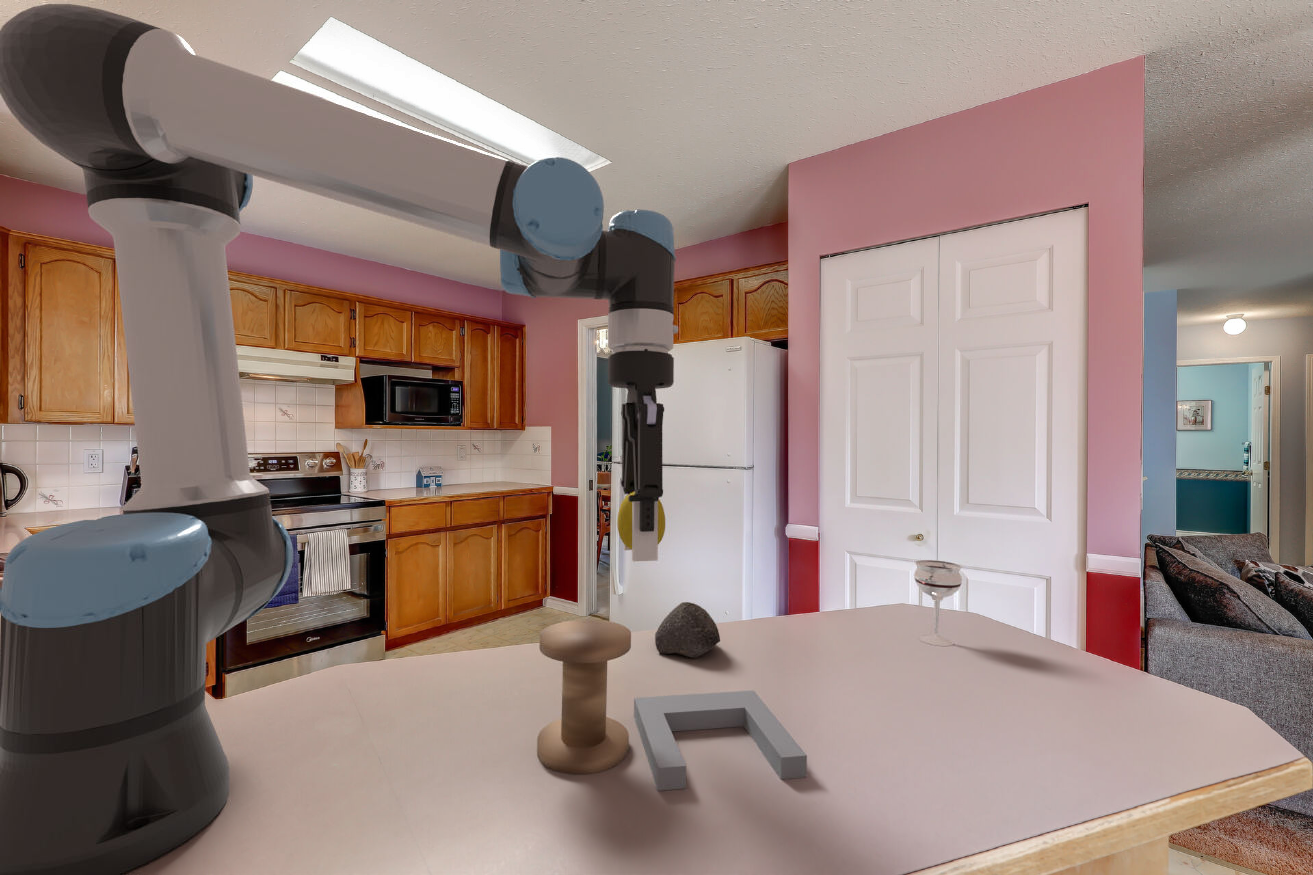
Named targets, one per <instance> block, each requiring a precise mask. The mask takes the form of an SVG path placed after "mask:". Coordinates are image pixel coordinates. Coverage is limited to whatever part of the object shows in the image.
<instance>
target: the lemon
mask: <svg viewBox="0 0 1313 875" xmlns="http://www.w3.org/2000/svg"><path fill="white" fill-rule="evenodd" d="M634 494H635V491H634V492H632V493H630V494H629V495H628V494H627V495H628V496H627V497H626V498H625V499H624V498H623V500H622V502H621V503H620V505H619V510H618V512H617V524H616V525H617V531H618V532H617V533H618V535H619V538H620V540H621V542H622V543H623V545H624V544H625V545H626V546H627V547H628V548H629V549H631V550H630V551H632V504H633V502H629V500H628V497H629V496H630V495H634ZM665 514H666V513H665V509H664V506H663V504H662V502H661V499H659V500H658V545H659V544H660V543H661V541H662V540H663V538H664V535H665V532H666V515H665Z"/></svg>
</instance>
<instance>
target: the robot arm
mask: <svg viewBox="0 0 1313 875" xmlns="http://www.w3.org/2000/svg"><path fill="white" fill-rule="evenodd" d="M0 96H1V98H2V99H3V102H4V103H5V105H6V107H7V108H8V110H9V111H10V113H11V114H12V116H13V117H14V118H15V119H16V120H17V122H19V124H21V126H22V127H23V128H24V129H25V130H26V131H27V132H28V133H30V134H31V135H32V136H33V137H34V138H35V139H37V140H38V141H39V142H40V143H41V144H43V145H44V146H46V147H47V148H49V149H50V150H52V151H54V152H56V153H57V154H59V155H60V156H61V157H63V158H64V159H66V160H67V161H70V162H71V163H73V164H74V165H76V166H77V167H79V168H80V169H82V172H83V177H84V178H83V179H84V186H85V187H84V188H85V196H86V202H87V208H88V209H87V213H88V215H89V218H90V219H91V220H92V221H93V222H95V223H96V224H97V225H98V226H100V227H101V228H103V229H104V230H105V231H107V232H108V233H109V234H110V235H111V237H112V238H113V239H112V241H113V246H114V247H113V248H114V254H115V255H114V256H115V264H116V273H117V282H118V283H117V284H118V291H119V292H118V293H119V299H120V307H121V316H122V326H123V334H124V340H125V341H124V342H125V350H126V359H127V367H128V377H129V386H130V393H131V394H130V395H131V404H132V412H133V414H132V415H133V419H134V420H133V421H134V422H133V423H134V431H135V438H136V449H137V456H138V457H137V458H138V465H139V473H140V474H139V475H140V482H141V485H140V489H139V490H138V491H137V492H136V493H135V494H134V495H132V496H131V497H130V498H129V499H128V500H127V501H126V503H125V504H123V505H122V514H114V515H107V516H102V517H101V518H97V519H83V520H77V521H73V522H68V523H63V524H61V525H56V526H53V527H50V528H47V529H44V530H40V531H39V532H35V533H34V534H32V535H29V536H27V537H26V538H24V539H21V541H20V542H18V543H17V544H16V545H14V546H13V547H12V549H11V550H10V551H9V553H8V554H7V556H6V558H5V560H4V566H3V567H4V568H3V575H2V585H1V588H0V875H121V874H124V873H126V872H129V871H131V870H134V869H136V868H138V867H140V866H143V865H145V864H147V863H148V862H151V861H153V860H155V859H157V858H159V857H161V856H162V855H163V854H166V853H168V852H170V851H172V849H175V848H176V847H178V846H180V845H181V844H182V843H184V842H186V841H188V840H189V839H190V838H192V837H194V836H195V835H196V834H197V833H199V831H201V830H203V829H204V828H205V827H206V826H207V825H208V824H210V823H211V821H212V820H213V819H215V817H216V816H218V814H219V813H220V812H221V810H222V809H223V807H224V806H225V804H226V802H227V801H228V797H229V794H230V765H229V760H228V758H227V755H226V753H225V751H224V748H223V745H222V743H221V739H220V738H219V735H218V733H217V731H216V729H215V727H214V724H213V721H212V719H211V717H210V715H209V712H208V710H207V706H206V678H207V677H206V671H207V670H206V669H207V668H206V667H207V666H206V665H207V664H206V663H207V644H208V643H210V642H212V641H213V640H215V639H216V638H219V636H221V635H223V634H224V633H225V632H227V631H228V630H230V629H232V628H234V627H235V626H236V625H238V624H240V623H242V622H245V621H247V620H249V619H250V618H252V617H254V616H255V615H257V614H258V613H259V612H261V611H262V610H263V609H264V608H265V607H266V606H267V605H268V604H269V603H270V602H271V601H272V600H273V599H274V598H275V597H276V596H277V594H279V592H280V591H281V590H282V588H283V587H284V586H285V584H286V583H287V580H288V578H289V576H290V574H291V571H292V567H293V562H294V549H293V543H292V540H291V536H290V535H289V532H288V530H287V529H286V528H285V526H284V525H283V523H281V522H280V521H278V520H277V519H276V518H275V517H274V516H273V511H272V502H271V495H270V490H269V488H268V487H266V486H265V485H264V484H262V483H261V482H259V481H257V480H256V479H254V477H253V475H251V471H250V462H249V453H248V452H249V451H248V443H247V435H246V434H247V433H246V426H245V416H244V408H243V400H242V389H241V380H240V370H239V363H238V353H237V343H236V336H235V335H236V334H235V327H234V318H233V309H232V308H233V307H232V299H231V298H232V297H231V289H230V282H229V272H228V264H227V263H228V261H227V255H226V247H227V245H228V244H229V243H230V242H232V241H233V240H234V239H236V238H237V237H238V236H239V235H240V234H241V233H242V228H241V227H242V226H241V216H240V212H242V210H243V209H244V208H246V207H247V206H248V204H249V202H250V200H251V197H252V194H253V189H254V178H253V177H257V178H261V179H264V180H267V181H271V182H274V183H277V184H281V185H283V186H284V185H285V186H287V187H290V188H295V189H297V190H301V191H304V192H306V193H310V194H314V195H318V196H320V197H325V198H328V199H331V200H334V201H337V202H341V203H345V204H348V205H351V206H355V207H358V208H361V209H364V210H368V211H371V212H374V213H378V214H382V215H384V216H387V217H391V218H395V219H398V220H401V221H405V222H408V223H410V224H411V223H412V224H415V225H418V226H422V227H425V228H428V229H432V230H435V231H439V232H442V233H445V234H448V235H452V236H455V237H458V238H462V239H465V240H468V241H472V242H475V243H479V244H482V245H485V246H489V247H491V248H494V249H497V250H499V267H500V268H499V269H500V284H501V287H502V289H503V291H505V292H506V293H508V294H511V295H518V296H519V295H520V296H526V297H530V298H535V299H536V298H538V297H539V298H540V297H541V298H559V299H561V298H562V299H563V298H564V299H566V298H567V299H587V300H591V299H592V300H606V301H608V314H607V332H608V333H607V347H608V349H609V350H610V351H612V353H611V354H610V355H609V356H608V359H607V360H608V363H607V367H608V368H607V369H608V370H607V372H608V373H607V376H608V379H607V382H608V385H609V386H611V388H612V387H613V388H616V389H626V390H627V394H626V402H625V403H621V412H620V415H621V421H622V422H621V423H622V424H621V425H622V427H621V428H622V436H621V438H622V441H621V443H622V444H621V481H620V484H621V487H622V489H623V493H624V495H623V500H624V499H625V498H626V497H627V496H628V495H629V494H630V493H632V492H634V491H635V494H634V495H630V496H629V497H628V500H629V502H633V504H632V550H631V549H629V548H628V547H627V546H626V545H625V544H624V543H623V550H624V551H631V557H632V558H631V559H632V560H631V561H632V562H650V561H652V562H654V561H656V562H657V561H658V558H659V557H658V555H659V554H658V546H659V544H658V500H660V498H662V497H663V495H664V489H663V488H664V487H663V421H664V412H665V407H664V403H660V402H659V403H657V402H658V401H657V390H659V389H667V388H670V387H672V386H673V385H674V381H675V380H674V378H675V377H674V372H675V366H674V365H675V358H674V357H673V355H672V354H671V353H669V352H671V351H672V350H673V349H674V334H678V332H679V327H678V325H675V324H674V311H675V310H674V300H675V299H674V297H675V296H674V295H675V292H674V291H675V262H676V258H677V256H676V254H675V235H674V226H673V224H672V222H671V221H670V219H669V218H668V217H667V216H665V215H664V214H662V213H659V212H657V211H654V210H649V209H636V210H629V209H627V210H623V211H619V212H618V213H616V214H615V215H613V216H612V217H611V218H610V220H609V224H608V228H607V230H606V229H605V230H604V229H603V228H604V225H603V220H604V212H605V209H604V208H605V206H604V205H605V203H604V202H605V201H604V196H603V193H602V191H601V187H600V185H599V183H598V182H597V180H596V179H595V177H594V176H593V175H592V174H591V172H590V171H589V170H588V169H587V168H585V166H582V164H580V163H579V162H576V161H575V160H573V159H570V158H566V157H558V156H557V157H547V158H543V159H538V160H536V161H535V162H533V163H531V164H530V165H525V164H522V163H518V162H515V161H512V160H511V159H506V158H503V157H501V156H498V155H494V154H492V153H488V152H485V151H483V150H480V149H477V148H475V147H472V146H468V145H464V144H462V143H458V142H456V141H454V140H450V139H447V138H445V137H441V136H438V135H436V134H435V135H434V134H433V133H429V132H426V131H423V130H420V129H417V128H415V127H412V126H408V125H405V124H402V123H399V122H397V121H393V120H391V119H387V118H385V117H381V116H378V115H375V114H373V113H369V112H367V111H364V110H361V109H358V108H354V107H352V106H348V105H346V104H343V103H340V102H337V101H334V100H330V99H329V98H325V97H322V96H320V95H317V94H314V93H313V94H312V93H310V92H306V91H303V90H301V89H298V88H296V87H292V86H289V85H286V84H285V83H284V84H283V83H280V82H278V81H274V80H271V79H268V78H265V77H262V76H259V75H257V74H254V73H250V72H248V71H244V70H241V69H239V68H235V67H233V66H230V65H227V64H223V63H221V62H218V61H214V60H211V59H209V58H206V57H202V56H200V55H196V54H195V52H194V50H193V49H192V48H191V46H190V45H189V44H188V43H187V41H185V39H184V38H182V37H181V36H179V35H178V34H176V33H174V32H172V31H170V30H167V29H163V28H161V27H157V26H156V25H155V26H154V25H152V24H149V23H145V22H143V21H140V20H137V19H136V18H135V19H134V18H131V17H128V16H124V15H122V14H118V13H115V12H112V11H108V10H105V9H101V8H96V7H92V6H91V7H90V6H86V5H79V4H73V3H48V4H47V3H46V4H42V5H36V6H32V7H30V8H27V9H25V10H23V11H20V12H19V13H17V14H16V15H14V16H13V17H11V18H10V19H9V20H8V21H6V22H5V23H4V24H3V25H2V26H1V28H0Z"/></svg>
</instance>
